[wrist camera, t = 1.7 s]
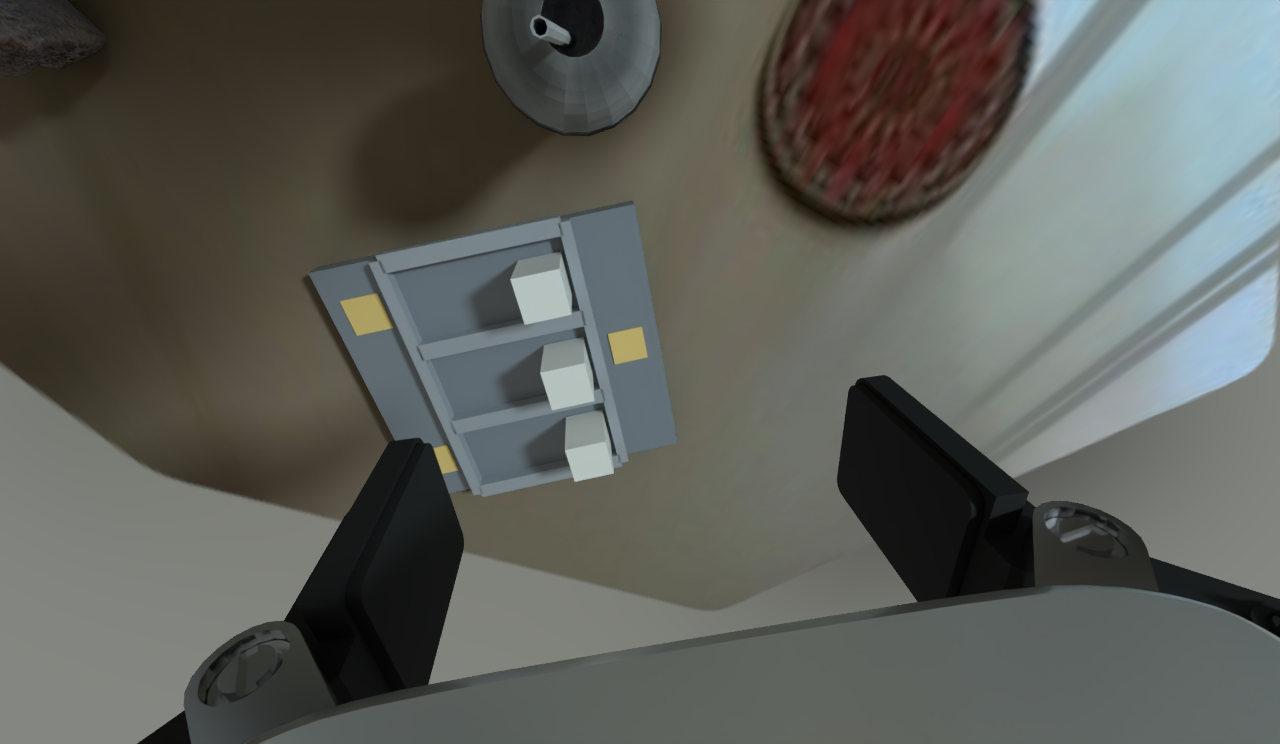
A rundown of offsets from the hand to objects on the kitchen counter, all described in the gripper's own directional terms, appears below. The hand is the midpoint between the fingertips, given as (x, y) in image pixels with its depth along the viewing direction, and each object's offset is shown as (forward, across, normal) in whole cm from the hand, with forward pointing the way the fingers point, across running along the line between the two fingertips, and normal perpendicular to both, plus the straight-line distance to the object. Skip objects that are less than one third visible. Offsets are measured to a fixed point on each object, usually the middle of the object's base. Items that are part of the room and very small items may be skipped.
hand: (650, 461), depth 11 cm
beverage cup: (+27, 0, -10) cm, 29 cm away
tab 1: (+25, +4, +2) cm, 26 cm away
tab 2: (+25, +4, +9) cm, 27 cm away
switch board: (+27, +8, +9) cm, 29 cm away
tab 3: (+25, +3, +15) cm, 30 cm away
